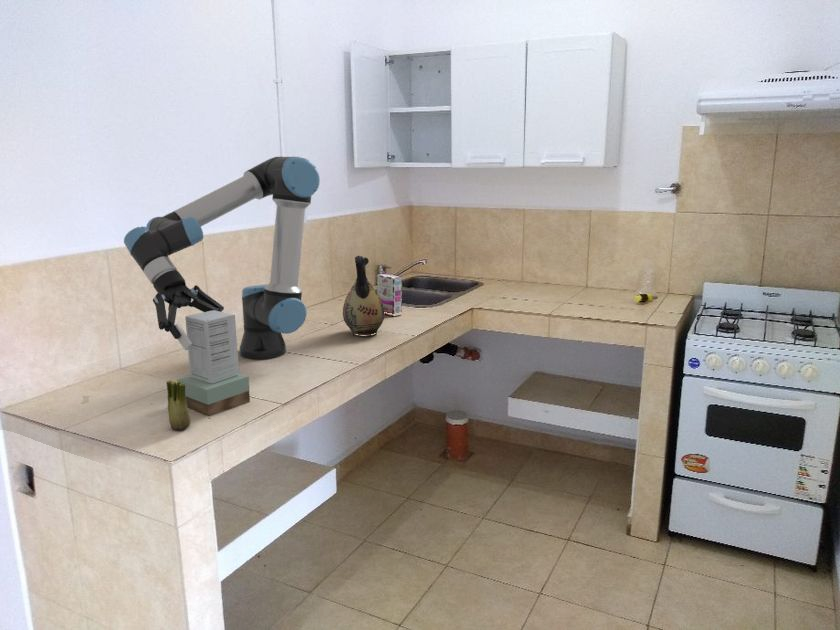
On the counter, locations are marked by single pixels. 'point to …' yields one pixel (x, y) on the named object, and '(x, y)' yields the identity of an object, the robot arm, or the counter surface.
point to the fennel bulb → (177, 406)
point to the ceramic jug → (363, 303)
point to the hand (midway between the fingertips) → (209, 340)
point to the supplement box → (212, 346)
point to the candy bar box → (390, 292)
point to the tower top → (214, 388)
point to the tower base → (218, 404)
